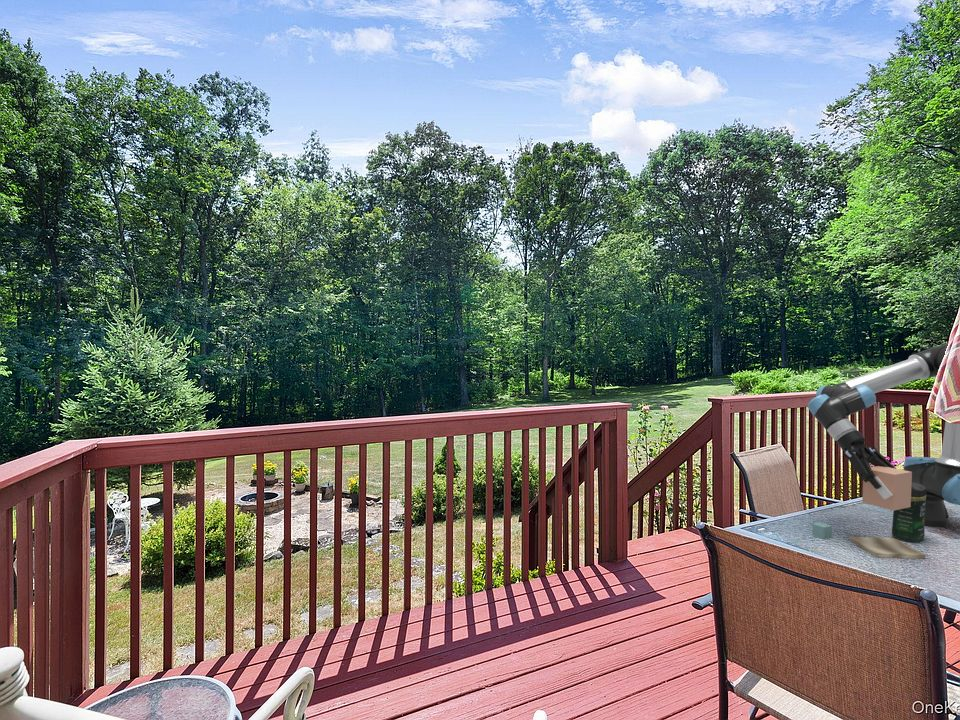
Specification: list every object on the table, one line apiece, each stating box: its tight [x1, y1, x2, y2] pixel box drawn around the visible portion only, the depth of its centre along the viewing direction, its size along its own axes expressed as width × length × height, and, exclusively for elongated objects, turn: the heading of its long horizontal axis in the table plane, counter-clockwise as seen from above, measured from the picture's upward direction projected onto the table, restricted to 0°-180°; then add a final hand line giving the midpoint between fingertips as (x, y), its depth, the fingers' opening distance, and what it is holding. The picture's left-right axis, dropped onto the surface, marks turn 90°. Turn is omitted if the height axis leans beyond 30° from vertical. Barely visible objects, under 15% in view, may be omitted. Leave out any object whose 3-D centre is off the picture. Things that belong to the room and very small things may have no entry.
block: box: [811, 521, 833, 540], centre depth 183 cm, size 4×4×4 cm
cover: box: [861, 466, 912, 512], centre depth 172 cm, size 9×9×11 cm
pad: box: [848, 536, 926, 560], centre depth 172 cm, size 14×14×1 cm
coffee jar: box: [891, 482, 926, 543], centre depth 182 cm, size 10×8×19 cm
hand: (898, 495), depth 169 cm, fingers closed on cover, 9 cm apart
